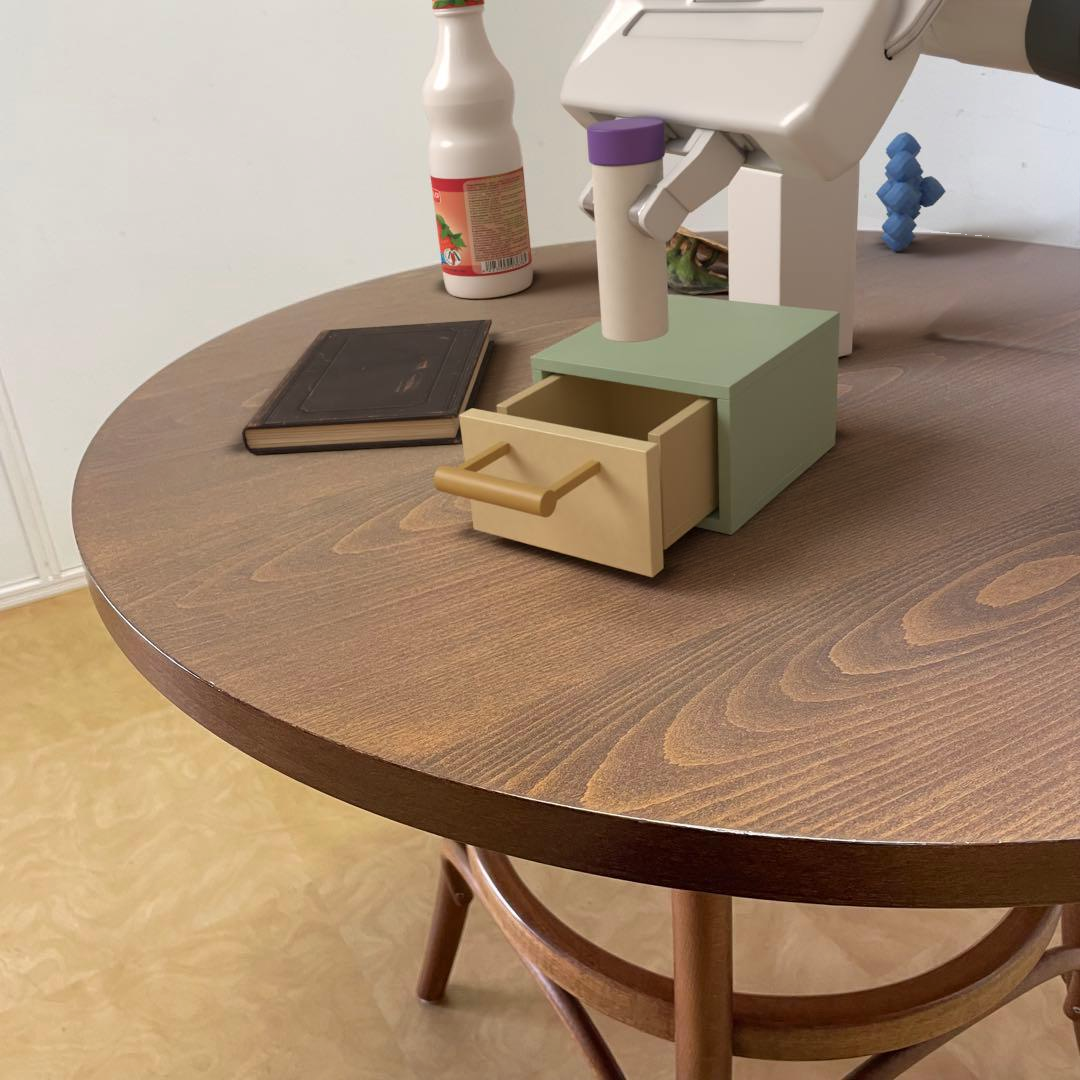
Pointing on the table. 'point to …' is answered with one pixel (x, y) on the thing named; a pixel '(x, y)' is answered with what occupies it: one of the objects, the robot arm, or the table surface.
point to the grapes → (905, 191)
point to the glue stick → (628, 228)
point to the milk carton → (795, 243)
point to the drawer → (590, 469)
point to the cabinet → (731, 387)
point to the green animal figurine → (694, 263)
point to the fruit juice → (475, 160)
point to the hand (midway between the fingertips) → (617, 224)
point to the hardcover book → (375, 389)
